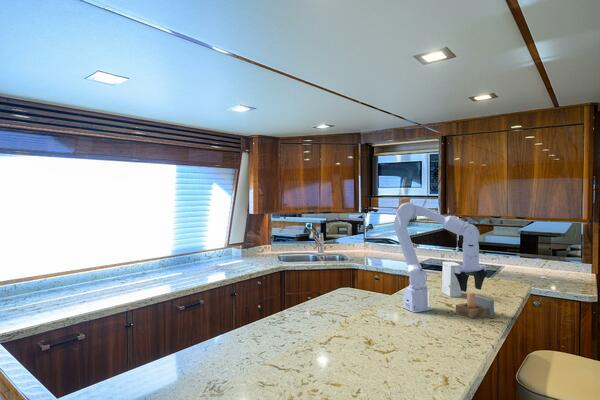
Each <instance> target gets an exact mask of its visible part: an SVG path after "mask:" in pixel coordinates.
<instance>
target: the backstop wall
mask: <svg viewBox="0 0 600 400" xmlns="http://www.w3.org/2000/svg"><path fill="white" fill-rule="evenodd" d="M475 295H476V304H477V305H480V306H483V307H486V308H488V316H487V317H494V316H495V301H494V299H491V298H488V297H485V296H481V295H477V294H475Z"/></svg>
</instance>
